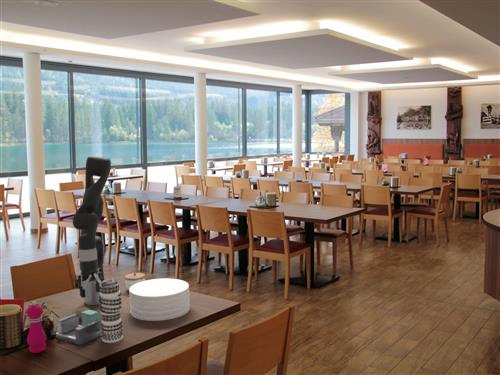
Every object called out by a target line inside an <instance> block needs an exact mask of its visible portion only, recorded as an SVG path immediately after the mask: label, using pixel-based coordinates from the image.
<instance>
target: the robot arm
mask: <svg viewBox="0 0 500 375" xmlns="http://www.w3.org/2000/svg"><path fill="white" fill-rule="evenodd" d="M111 168H112V162H111V159H110V158H108V157H105V156H103V157H102V156H94V155H89V156H87V158H86V161H85V175H84V176H85V180H84V181H85V183H84V184H85V185H84V186H85V188H84V194H83V197H82V201H81V204H80V206H79V207H78V210H76V212H75V213H74V215H73V217H72V218H73V219H72V225H73V227H74V228H75V229H76V230H80V235H79V236H78V257H79V259H78V260H79V270H80V272H81V273H80V274H75V275H74V285H75V286H74V287H75V289H76V290H79V297H81V298H83V299H84V300H83V301H84V303H85V304H86V305H89V306H97V305H99V304H100V302H99V297H98V296H99V294H100V286H99V285H100V284H101V283H102V281H104V280H105V275H104V261H105V258H104V243H103V239H102V238H101V236H97V231H98V226H99V221H100V220H101V219H102V216H103V212H104V199H103V197H102V193H103V190H104V188H105V186H106V183H107V180H108V178H109V176H110V172H111ZM94 177H99V178H98V179H97V180H96V181H95V180H94ZM100 297H101V296H100Z"/></svg>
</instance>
